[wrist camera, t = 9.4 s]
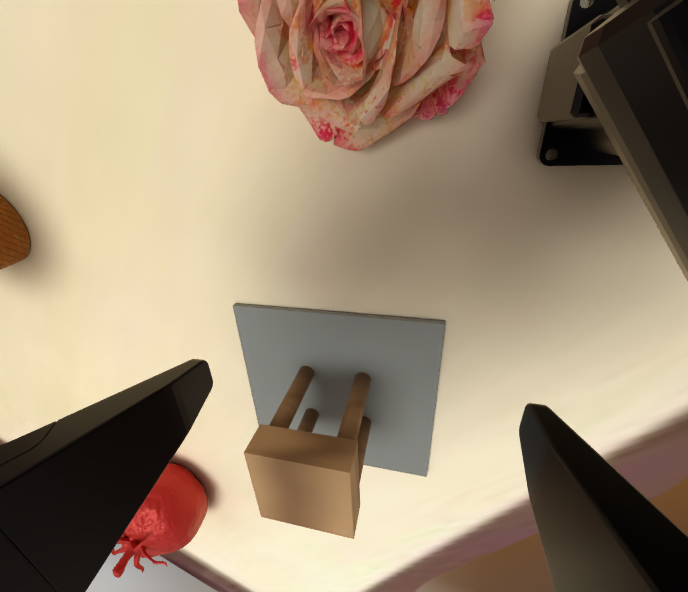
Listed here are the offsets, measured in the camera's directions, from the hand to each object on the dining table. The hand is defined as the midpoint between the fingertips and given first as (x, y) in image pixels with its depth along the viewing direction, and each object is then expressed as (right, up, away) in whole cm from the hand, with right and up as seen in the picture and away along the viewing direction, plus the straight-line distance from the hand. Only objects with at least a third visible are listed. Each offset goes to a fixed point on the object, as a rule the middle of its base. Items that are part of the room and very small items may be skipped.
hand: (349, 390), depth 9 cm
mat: (-1, -5, +17) cm, 17 cm away
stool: (-1, -5, +16) cm, 17 cm away
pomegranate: (-19, -19, +29) cm, 40 cm away
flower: (+1, +14, +6) cm, 16 cm away
